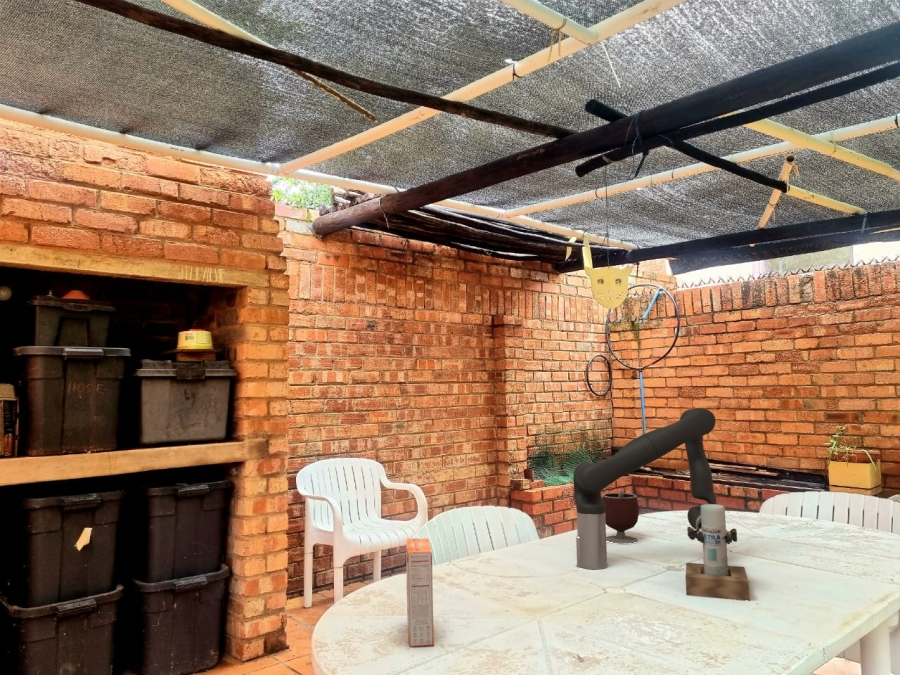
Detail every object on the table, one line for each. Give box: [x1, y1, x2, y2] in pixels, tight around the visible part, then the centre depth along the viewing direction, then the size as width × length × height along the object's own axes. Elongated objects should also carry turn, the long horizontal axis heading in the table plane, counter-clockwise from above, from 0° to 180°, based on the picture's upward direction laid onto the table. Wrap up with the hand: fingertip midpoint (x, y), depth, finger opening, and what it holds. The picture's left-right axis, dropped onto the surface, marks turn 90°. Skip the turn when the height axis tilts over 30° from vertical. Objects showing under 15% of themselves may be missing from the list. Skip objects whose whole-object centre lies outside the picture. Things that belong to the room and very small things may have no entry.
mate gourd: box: [601, 490, 640, 544], centre depth 245 cm, size 16×14×20 cm
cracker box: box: [405, 537, 435, 648], centre depth 150 cm, size 14×6×21 cm, turn 5°
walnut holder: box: [685, 562, 751, 602], centre depth 182 cm, size 16×16×5 cm
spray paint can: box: [700, 503, 729, 576], centre depth 183 cm, size 6×6×20 cm
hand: (715, 539), depth 181 cm, fingers closed on spray paint can, 6 cm apart
